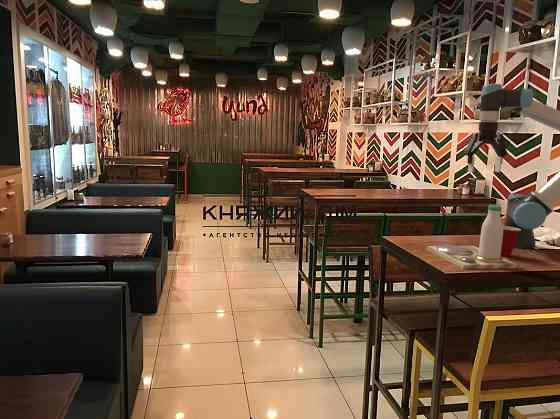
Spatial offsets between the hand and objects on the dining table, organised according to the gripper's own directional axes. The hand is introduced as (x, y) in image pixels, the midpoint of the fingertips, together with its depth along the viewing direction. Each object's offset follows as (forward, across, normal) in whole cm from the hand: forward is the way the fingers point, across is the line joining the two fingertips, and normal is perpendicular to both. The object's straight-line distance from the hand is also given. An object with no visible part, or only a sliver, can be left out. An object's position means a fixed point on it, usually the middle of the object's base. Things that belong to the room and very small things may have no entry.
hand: (484, 171), depth 204 cm
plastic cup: (+34, -2, +14) cm, 36 cm away
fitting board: (+33, +17, +17) cm, 41 cm away
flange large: (+31, +20, +11) cm, 39 cm away
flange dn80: (+32, +14, +24) cm, 42 cm away
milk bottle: (+31, +14, +24) cm, 42 cm away
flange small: (+31, +24, +25) cm, 47 cm away
